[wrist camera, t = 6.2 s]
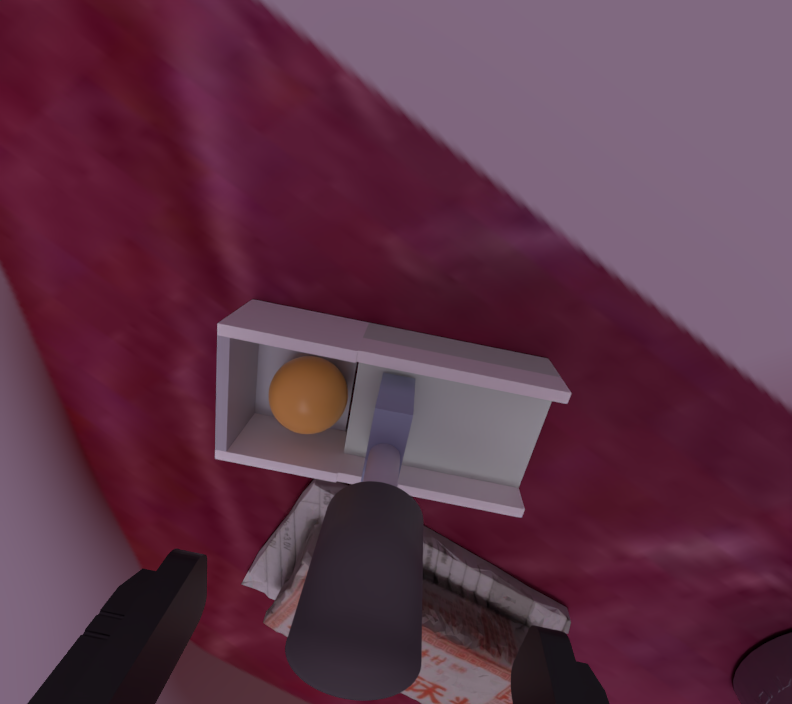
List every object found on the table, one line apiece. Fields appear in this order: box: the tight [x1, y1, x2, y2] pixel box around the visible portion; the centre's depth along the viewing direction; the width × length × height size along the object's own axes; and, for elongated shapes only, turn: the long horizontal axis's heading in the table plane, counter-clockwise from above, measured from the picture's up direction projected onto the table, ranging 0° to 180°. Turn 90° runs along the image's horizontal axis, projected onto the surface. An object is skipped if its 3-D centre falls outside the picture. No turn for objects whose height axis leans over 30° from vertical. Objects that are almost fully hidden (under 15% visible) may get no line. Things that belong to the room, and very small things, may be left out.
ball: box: [269, 356, 348, 434], centre depth 19 cm, size 4×4×4 cm
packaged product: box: [242, 479, 571, 704], centre depth 24 cm, size 18×5×10 cm
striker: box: [285, 372, 423, 700], centre depth 14 cm, size 3×4×10 cm
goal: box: [215, 299, 369, 483], centre depth 19 cm, size 6×6×4 cm
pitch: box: [336, 323, 571, 518], centre depth 19 cm, size 8×6×3 cm
